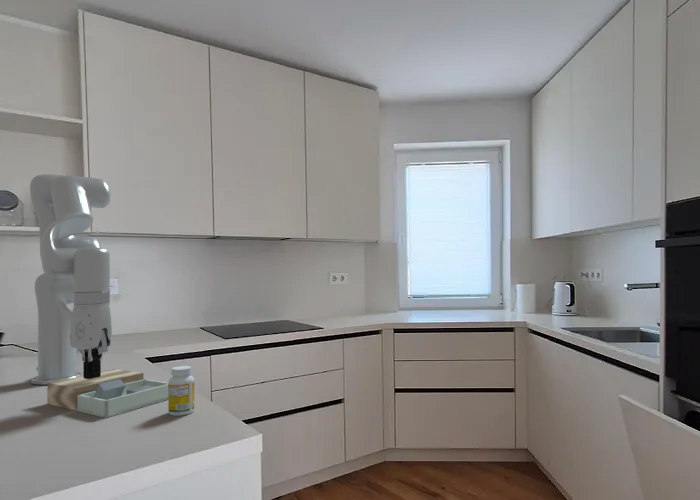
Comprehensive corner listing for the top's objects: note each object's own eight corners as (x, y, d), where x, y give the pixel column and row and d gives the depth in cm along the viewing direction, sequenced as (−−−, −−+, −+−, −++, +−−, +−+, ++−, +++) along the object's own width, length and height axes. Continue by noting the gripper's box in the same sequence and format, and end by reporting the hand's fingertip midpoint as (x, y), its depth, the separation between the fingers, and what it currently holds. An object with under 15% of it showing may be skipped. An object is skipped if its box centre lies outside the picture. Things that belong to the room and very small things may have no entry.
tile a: (139, 392, 107) (139, 402, 107) (158, 387, 111) (158, 397, 111) (126, 389, 109) (126, 400, 109) (145, 385, 114) (145, 395, 113)
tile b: (98, 383, 103) (104, 390, 102) (120, 378, 107) (125, 385, 106) (92, 401, 104) (97, 408, 103) (113, 395, 108) (118, 402, 107)
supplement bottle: (181, 417, 97) (181, 371, 97) (162, 414, 99) (162, 369, 100) (200, 410, 102) (199, 366, 102) (181, 407, 104) (181, 364, 104)
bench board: (47, 404, 110) (47, 382, 110) (115, 387, 124) (115, 368, 125) (75, 410, 104) (75, 388, 104) (143, 392, 118) (143, 372, 118)
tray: (77, 411, 103) (77, 395, 103) (145, 392, 118) (144, 379, 118) (105, 417, 98) (105, 401, 98) (173, 397, 112) (173, 383, 113)
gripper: (58, 300, 111) (58, 378, 110) (94, 300, 103) (94, 384, 102) (89, 298, 117) (89, 371, 116) (125, 298, 110) (126, 377, 109)
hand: (92, 377), depth 109 cm, fingers closed
